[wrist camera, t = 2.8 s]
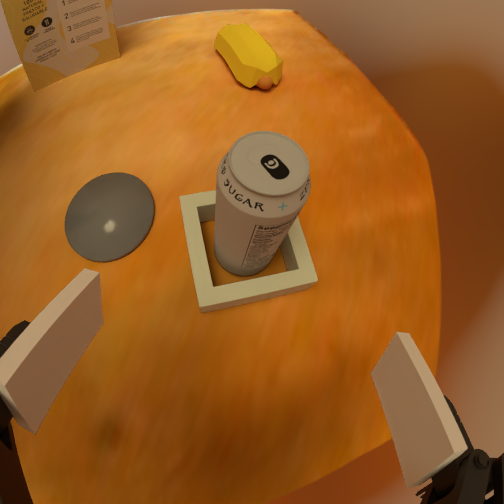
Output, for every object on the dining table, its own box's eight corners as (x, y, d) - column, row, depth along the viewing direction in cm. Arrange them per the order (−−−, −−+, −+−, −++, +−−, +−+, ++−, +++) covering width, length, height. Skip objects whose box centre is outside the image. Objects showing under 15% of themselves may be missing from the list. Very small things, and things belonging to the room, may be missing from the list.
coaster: (69, 186, 30) (67, 184, 29) (150, 167, 32) (149, 164, 32) (67, 270, 27) (64, 268, 26) (159, 252, 29) (158, 249, 28)
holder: (182, 212, 31) (179, 196, 28) (278, 197, 33) (285, 180, 30) (201, 313, 27) (199, 307, 24) (306, 289, 30) (318, 280, 26)
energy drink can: (248, 214, 32) (276, 113, 18) (282, 257, 31) (338, 175, 17) (202, 243, 30) (198, 147, 16) (236, 289, 29) (261, 224, 15)
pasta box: (117, 37, 43) (106, -70, 17) (120, 57, 40) (106, -70, 14) (40, 67, 38) (12, -33, 12) (34, 91, 36) (-5, -23, 10)
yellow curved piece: (242, 98, 39) (287, 92, 41) (248, 63, 33) (297, 60, 34) (208, 46, 44) (246, 42, 46) (210, 17, 38) (251, 15, 39)
